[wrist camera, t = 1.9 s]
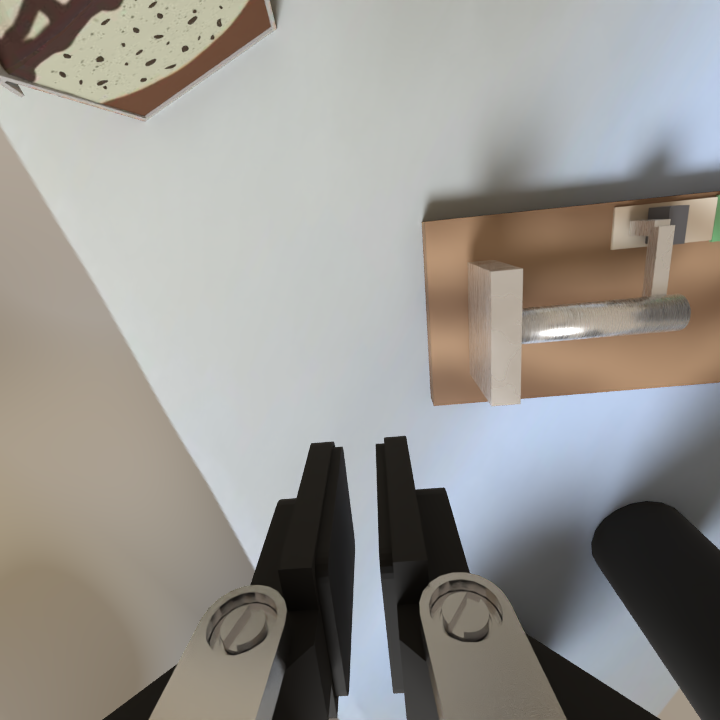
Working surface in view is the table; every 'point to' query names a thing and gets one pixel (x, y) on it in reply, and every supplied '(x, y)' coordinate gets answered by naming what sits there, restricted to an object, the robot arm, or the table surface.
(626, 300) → the plunger
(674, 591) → the wine bottle
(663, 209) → the dark grey small block
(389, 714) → the table surface
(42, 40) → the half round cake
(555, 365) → the gauge board
